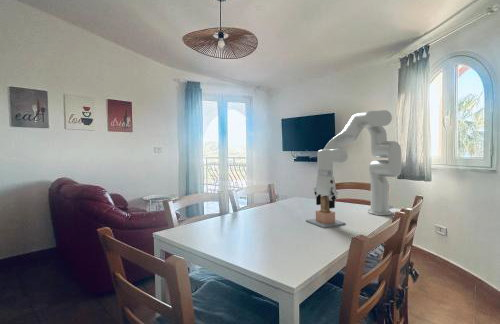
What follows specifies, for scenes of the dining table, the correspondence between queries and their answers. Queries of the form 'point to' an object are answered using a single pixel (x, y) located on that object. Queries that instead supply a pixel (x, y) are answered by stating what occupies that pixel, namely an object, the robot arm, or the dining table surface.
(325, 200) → the stick
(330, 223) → the square socket base
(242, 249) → the dining table surface
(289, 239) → the dining table surface
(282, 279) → the dining table surface
